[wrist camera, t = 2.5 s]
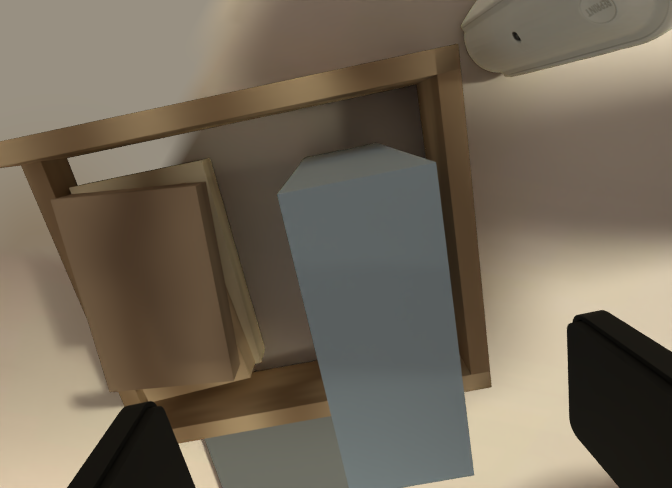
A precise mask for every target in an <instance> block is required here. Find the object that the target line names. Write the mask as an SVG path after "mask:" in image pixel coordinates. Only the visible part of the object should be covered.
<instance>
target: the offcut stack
mask: <svg viewBox="0 0 672 488" xmlns="http://www.w3.org/2000/svg"><path fill="white" fill-rule="evenodd" d="M69 189H70V192H71V195H67V196H63V197H59V198H56V199H52V200H51V203H52V207H53V210H54V213H55V216H56V220H57V223H58V226H59V229H60V233H61V236H62V239H63V242H64V246H65V249H66V252H67V255H68V258H69V262H70V265H71V268H72V271H73V275H74V278H75V281H76V284H77V288H78V291H79V294H80V297H81V301H82V304H83V307H84V310H85V314H86V317H87V320H88V323H89V326H90V330H91V333H92V336H93V339H94V343H95V346H96V349H97V352H98V356H99V359H100V362H101V365H102V369H103V372H104V375H105V378H106V382H107V385H108V388H109V391H110V392H118V391H129V390H140V389H143V391H144V393H145V395H146V397H147V399H148V401H152V402H155V401H159V400H163V399H167V398H171V397H175V396H179V395H183V394H187V393H191V392H195V391H199V390H203V389H207V388H211V387H215V386H219V385H223V384H227V383H231V382H235V381H239V380H243V379H247V378H251V374H252V371H253V368H254V365H255V364H257V363H261V361H262V358H263V354H264V351H265V347H264V343H263V340H262V336H261V333H260V329H259V326H258V323H257V319H256V316H255V312H254V309H253V305H252V302H251V298H250V295H249V291H248V288H247V284H246V281H245V277H244V274H243V270H242V267H241V263H240V260H239V257H238V253H237V250H236V246H235V243H234V239H233V236H232V232H231V229H230V225H229V222H228V218H227V215H226V211H225V208H224V204H223V201H222V197H221V194H220V191H219V187H218V184H217V180H216V177H215V173H214V170H213V166H212V163H211V159H210V158H208V159H203V160H198V161H193V162H189V163H184V164H179V165H174V166H169V167H164V168H160V169H155V170H151V171H145V172H141V173H136V174H131V175H126V176H121V177H116V178H111V179H107V180H102V181H97V182H92V183H88V184H83V185H79V186H74V187H70V188H69Z"/></svg>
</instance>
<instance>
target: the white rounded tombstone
mask: <svg viewBox="0 0 672 488" xmlns="http://www.w3.org/2000/svg"><path fill="white" fill-rule="evenodd" d="M461 28H462V29H463V31H464V32H465V34H464V41H465V46H466V49H467V51H468V54H469V55H470V57H471V58H472V60H473V61H474V62H475V63H476V64H477V65H478V66H480V67H481V68H483V69H485V70H487V71H491V72H501V73H502V74H503V75H504V76H505V77H513V76H518V75H523V74H527V73H531V72H535V71H539V70H543V69H547V68H551V67H554V66H559V65H563V64H567V63H570V62H575V61H578V60H583V59H587V58H591V57H595V56H599V55H603V54H607V53H610V52H614V51H617V50H621V49H625V48H629V47H633V46H637V45H641V44H644V43H647V42H649V41H651V40H654V39H656V38H658V37H659V36H661V35H663V34H664V33H666V32H668V31H669V30H671V29H672V0H477V1H476V2H475V4H474V5H473V6H472V8H471V10H470V11H469V13H468V14H467V16H466V18H465V19H464V21H463V23H462V25H461Z"/></svg>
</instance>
